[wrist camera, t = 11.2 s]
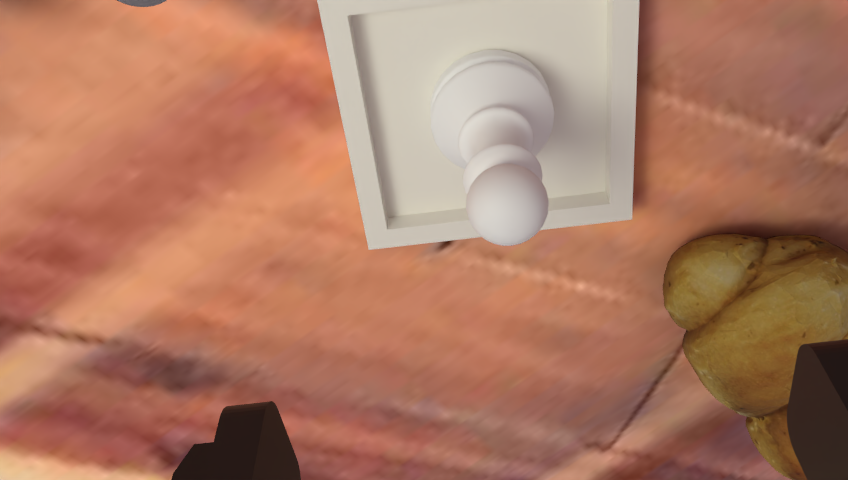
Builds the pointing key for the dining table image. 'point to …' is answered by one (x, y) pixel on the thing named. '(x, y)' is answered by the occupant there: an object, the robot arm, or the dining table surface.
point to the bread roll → (757, 322)
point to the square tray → (421, 69)
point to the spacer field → (141, 2)
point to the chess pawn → (496, 140)
